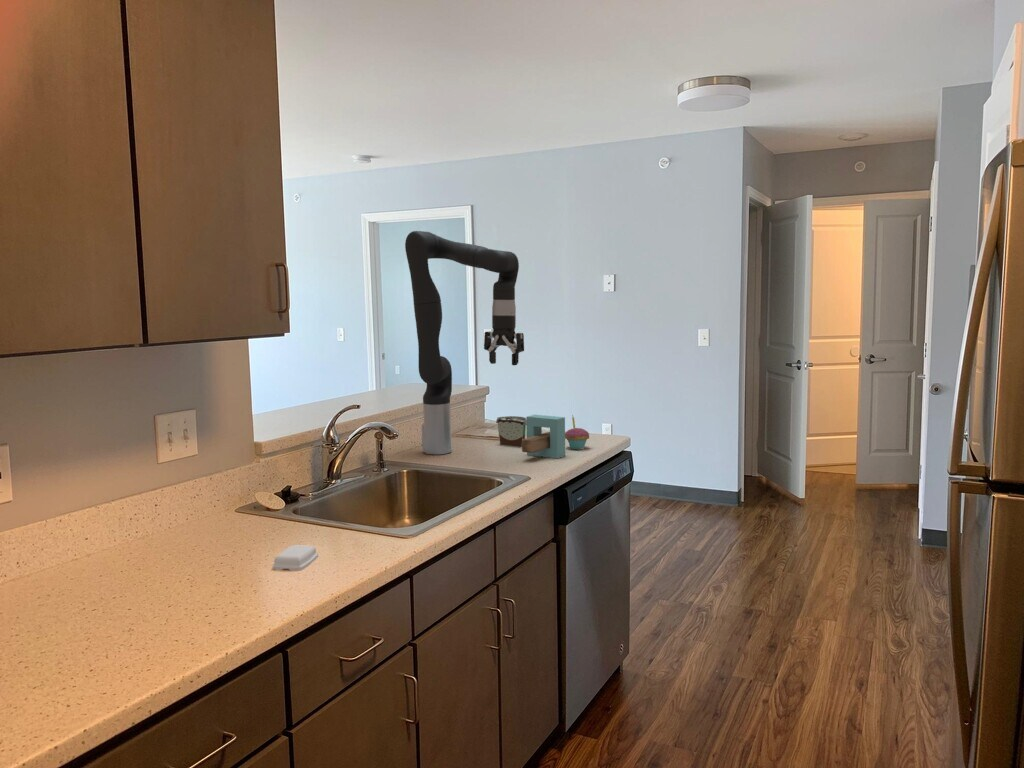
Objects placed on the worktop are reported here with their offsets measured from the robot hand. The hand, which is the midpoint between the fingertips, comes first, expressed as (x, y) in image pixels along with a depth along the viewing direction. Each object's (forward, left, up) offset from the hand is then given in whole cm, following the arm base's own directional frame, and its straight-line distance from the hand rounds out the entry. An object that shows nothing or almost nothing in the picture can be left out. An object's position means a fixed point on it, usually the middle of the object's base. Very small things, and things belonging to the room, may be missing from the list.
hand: (503, 364), depth 242 cm
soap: (+19, -101, -32) cm, 108 cm away
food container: (-11, +22, -32) cm, 40 cm away
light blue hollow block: (+8, +12, -31) cm, 34 cm away
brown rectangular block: (+8, +11, -28) cm, 31 cm away
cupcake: (+11, +28, -32) cm, 43 cm away
